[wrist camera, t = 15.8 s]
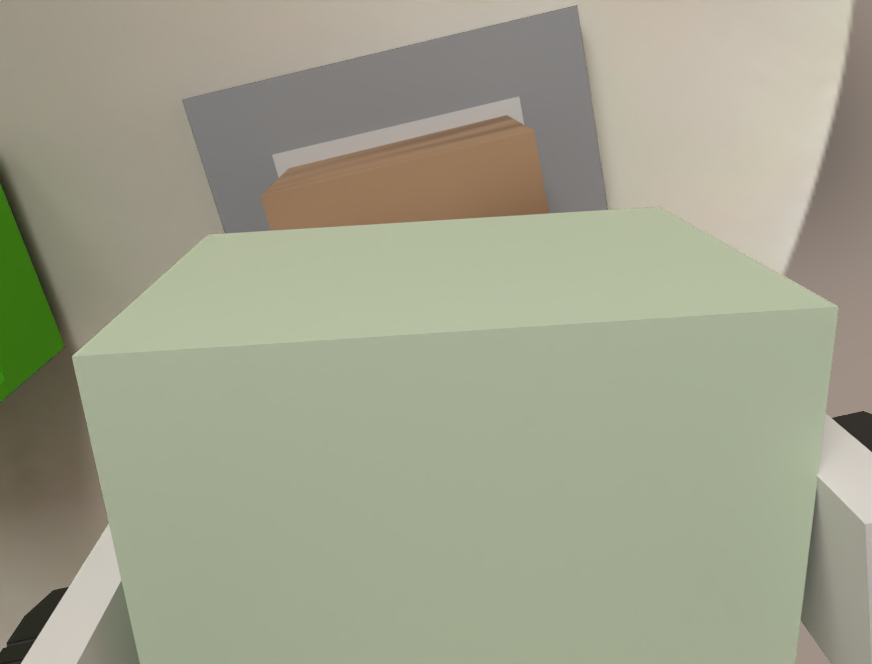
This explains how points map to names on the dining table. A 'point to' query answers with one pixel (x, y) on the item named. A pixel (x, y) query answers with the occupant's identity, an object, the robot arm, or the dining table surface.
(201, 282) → the green block
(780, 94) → the dining table surface
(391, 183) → the walnut block
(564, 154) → the plate
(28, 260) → the toy car
